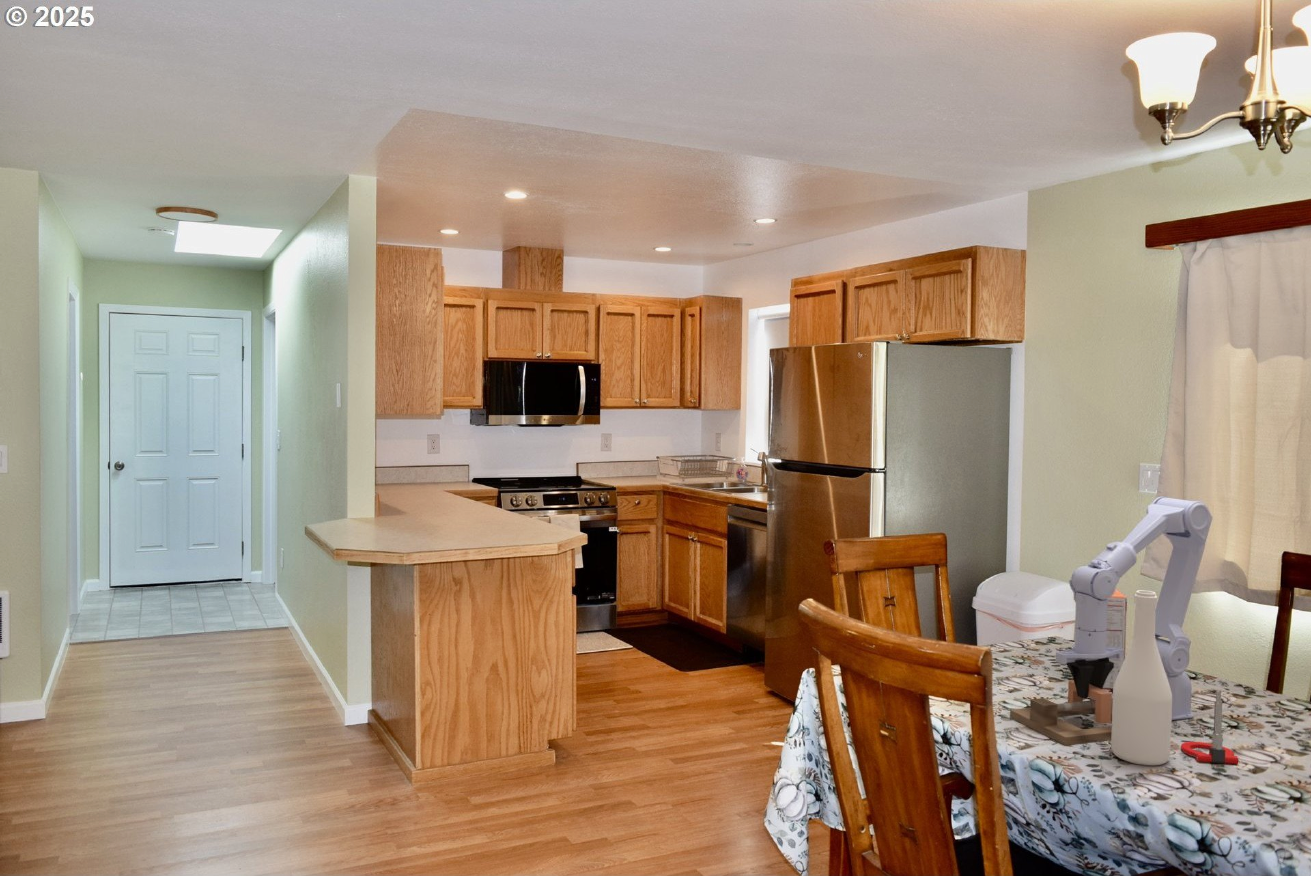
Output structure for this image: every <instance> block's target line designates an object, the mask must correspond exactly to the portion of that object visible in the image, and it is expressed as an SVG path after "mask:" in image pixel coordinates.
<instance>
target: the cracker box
mask: <svg viewBox="0 0 1311 876" xmlns="http://www.w3.org/2000/svg"><path fill="white" fill-rule="evenodd" d="M1127 604H1128V597H1126V596H1125V595H1124V594H1123V593H1122V592H1120V591H1119V590H1118V589H1117V588H1116V589H1115V592H1114V594H1113V595H1112V596H1110V597H1109V598H1108V613H1107V642H1106V647H1119V648H1122V649H1124V658H1123V659H1118V658H1112V659H1109V661H1111V662H1113V663H1114V668H1113V669H1112V670H1111V672H1110V673H1109V675H1108V677H1107V679H1106V681H1105V683H1104V686H1103V689H1102V690H1113V687H1114V684H1115V681H1116V678H1117V676H1118V674H1119V671H1120V669H1121V667H1122V665H1123V662H1124V660H1125V657H1126V644H1127V611H1128V609H1127V607H1128V605H1127Z"/></svg>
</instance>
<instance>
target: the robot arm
mask: <svg viewBox="0 0 1311 876" xmlns="http://www.w3.org/2000/svg"><path fill="white" fill-rule="evenodd" d="M1212 522H1213V515H1212V514H1211V511H1210V510H1209V508H1208V505H1206V503H1204V502H1203V501H1201V500H1186V499H1181V498H1172V497H1168V496H1158V497H1156V498H1155V499H1154V500H1153V502H1152V503H1151V504H1149V505H1147V507H1146V515H1145V516H1144V517H1143V518H1142V519H1141V520H1140V522H1138V524H1137V525H1135V527H1134V528H1133V529H1132V531H1130V533H1129V534H1127V535H1126V537H1125V538H1124V539H1123V540H1122V541H1121V542H1120V541H1113V542H1109V543H1108V544H1107V545H1106V546H1105V549H1103V551H1102V552H1100V553H1099V554H1098V555H1097V556H1096V557H1095V558H1093V559H1092V560H1091V561H1090V562H1089V563H1088V565H1083V566H1082V565H1081V566H1079V567H1078V568H1076V569H1075V570H1074V571H1073V573H1072V574H1071V578H1070V579H1068V584H1069V587H1070V590H1072V592H1073V600H1074V602H1075V616H1074V620H1075V621H1074V623H1075V624H1074V645H1072V647H1071V648H1069V649H1064V650H1061V651H1060V650H1059V651H1056V652H1055V662H1056V663H1059V664H1061V665H1066V666H1067V668H1068V670H1069V672H1070V674H1071V676H1072V680H1074V683H1075V687H1076V691H1077V696H1079V697H1081V698H1083V700H1087V699H1088V698H1089V697H1088V693H1089V684H1090V685H1093V686H1095V687H1098V688H1100V689H1102V690H1104V689H1103V686H1104V683H1105V681H1106V679H1107V677H1108V675H1109V673H1110V672H1111V670H1112V669H1113V668H1114V663H1113V662H1111V661H1109V659H1112V658H1118V659H1123V658H1124V649H1122V648H1119V647H1106V642H1107V613H1108V598H1109V597H1110V596H1112V595H1113V594H1114V592H1115V589H1117V586H1118V584H1119V581H1120V579H1121V578H1122V577H1123V576H1124V575H1125V574H1126V573H1127V572H1128V571H1129V570H1131V569H1132V568H1133V567H1134V566H1135V565H1136V563H1137V561H1138V560H1137V559H1138V558H1137V557H1138V556H1137V554H1139V553H1140V552H1141V551H1142V550H1143V549H1145V548H1146V547H1147V546H1149V545H1150V544H1151V543H1153V542H1154V541H1155V540H1156V539H1157V538H1159V537H1160V536H1161V535H1163V536H1164V537H1166V538H1167V539H1168V540H1169V542H1170V543H1171V545H1172V551H1171V555H1170V557H1169V561H1168V564H1167V568H1166V572H1165V575H1164V579H1163V582H1162V586H1161V588H1160V592H1159V596H1158V598H1157V605H1156V606H1155V639H1156V644H1157V648H1158V651H1159V654H1160V657H1161V661H1162V664H1163V667H1164V670H1165V673H1166V676H1167V679H1168V682H1169V685H1170V689H1171V693H1172V718H1171V721H1174V720H1175V721H1176V720H1183V719H1191V718H1192V719H1194V717H1195V714H1192V713H1191V712H1192V710H1191V709H1192V687H1193V686H1192V682H1191V679H1190V677H1189V675H1188V674H1187V673H1186V672H1185V671H1186V670H1187V668H1188V667H1189V664H1190V647H1191V644H1192V641H1191V640H1190V637H1188V636H1187V634H1186V633H1185V631H1184V630H1183V629H1182V628H1183V625H1184V622H1185V621H1184V620H1185V619H1186V614H1187V611H1188V607H1189V603H1190V600H1191V597H1192V594H1193V589H1194V586H1195V583H1196V580H1197V579H1196V578H1197V577H1198V572H1199V569H1200V566H1201V563H1202V558H1203V554H1204V551H1205V548H1206V547H1205V546H1206V543H1207V539H1208V535H1209V532H1210V528H1211V525H1212ZM1160 637H1161V638H1160ZM1163 638H1166V639H1168V640H1166V639H1163Z"/></svg>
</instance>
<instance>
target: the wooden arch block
mask: <svg viewBox="0 0 1311 876" xmlns="http://www.w3.org/2000/svg"><path fill="white" fill-rule="evenodd" d="M1067 684H1068V687H1067V688H1068V689H1067V703H1071V702H1081V701H1084V699H1083V698H1081V697H1079V696H1077V691H1076V687H1075V683H1074V680H1073V679H1071V680H1068V683H1067ZM1112 697H1113V692H1112V693H1111V692H1109V691H1107V690H1106V689H1100V688H1098V687H1095V686H1093V685H1090V684H1089V693H1088V698H1090V699H1091V700H1096V707H1095V714H1094V722H1095V723H1097V724H1099V725H1104V724H1112V721H1111V698H1112ZM1081 710H1082V709H1081ZM1072 711H1080V710H1072Z"/></svg>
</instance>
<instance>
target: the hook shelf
mask: <svg viewBox="0 0 1311 876" xmlns="http://www.w3.org/2000/svg"><path fill="white" fill-rule="evenodd" d="M1029 701H1030V704H1029V705H1030V706H1029V707H1025V708H1024V707H1023V708H1014V709H1010V710H1009V717H1010V718H1011V719H1013V720H1015V721H1017V722H1018V723H1021V724H1023V725H1025V726H1027V727H1028V726H1029V728H1030V729H1032V728H1033V729H1032V730H1035V731H1036V730H1037V731H1036V732H1038V731H1039V733H1040V732H1041V733H1040V734H1043V736H1044V735H1045V736H1046V735H1047V736H1046V737H1048V738H1050V739H1052V740H1054V741H1056V742H1057V743H1060V744H1062V745H1064V746H1069V745H1070V746H1071V745H1079V744H1086V743H1096V742H1103V741H1111V736H1112V725H1111V726H1103V727H1102V726H1101V727H1095V728H1094V727H1093V728H1085V729H1082V728H1081V727H1078V726H1076V725H1075V724H1072V723H1070V722H1067V721H1066V720H1063V719H1061V718H1059V717H1069V716H1076V715H1077V716H1079V715H1085V714H1086V715H1087V714H1094V715H1095V707H1096V700H1094V699H1091V700H1083V701H1081V702H1071V703H1068V702H1063V703H1055V702H1053V701H1051V700H1048V699H1046V698H1044V697H1043V698H1042V697H1040V698H1031V699H1030V700H1029ZM1112 707H1113V697H1111V722H1112ZM1081 709H1082V710H1081ZM1072 710H1080V711H1072Z"/></svg>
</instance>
